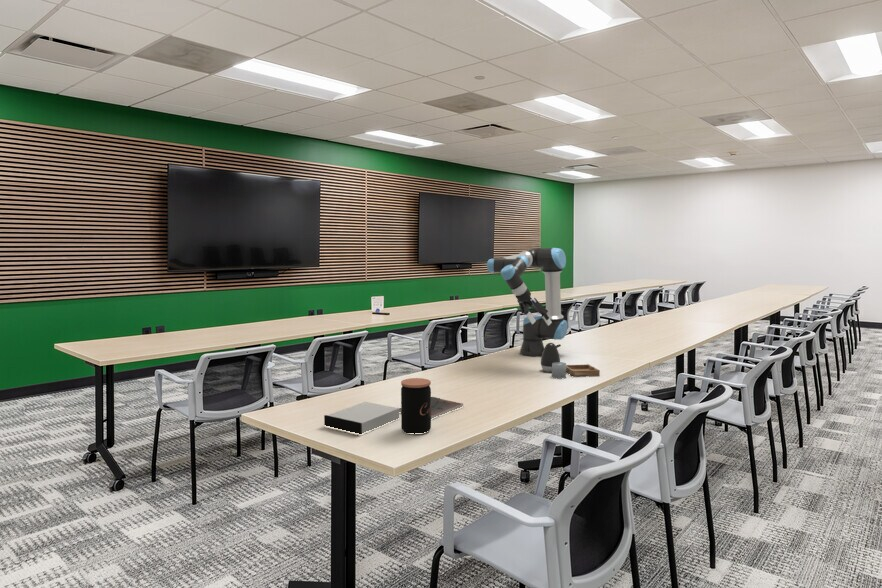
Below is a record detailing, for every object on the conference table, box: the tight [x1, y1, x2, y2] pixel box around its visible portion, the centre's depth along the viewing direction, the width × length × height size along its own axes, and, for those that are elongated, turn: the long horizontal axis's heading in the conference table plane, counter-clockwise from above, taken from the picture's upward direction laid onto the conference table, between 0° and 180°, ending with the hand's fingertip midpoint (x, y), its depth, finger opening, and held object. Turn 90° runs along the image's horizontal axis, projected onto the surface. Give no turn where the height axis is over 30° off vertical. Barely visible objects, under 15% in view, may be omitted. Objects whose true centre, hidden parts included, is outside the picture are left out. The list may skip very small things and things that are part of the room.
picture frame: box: [398, 396, 464, 419], centre depth 225 cm, size 16×2×22 cm
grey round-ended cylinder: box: [551, 361, 567, 380], centre depth 280 cm, size 7×7×7 cm
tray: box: [566, 363, 601, 378], centre depth 288 cm, size 14×14×3 cm
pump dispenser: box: [540, 342, 562, 373], centre depth 292 cm, size 10×10×15 cm
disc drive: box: [323, 401, 400, 434], centre depth 208 cm, size 18×22×5 cm
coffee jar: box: [400, 377, 432, 434], centre depth 199 cm, size 11×11×18 cm
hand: (541, 323), depth 294 cm, fingers open, 13 cm apart
